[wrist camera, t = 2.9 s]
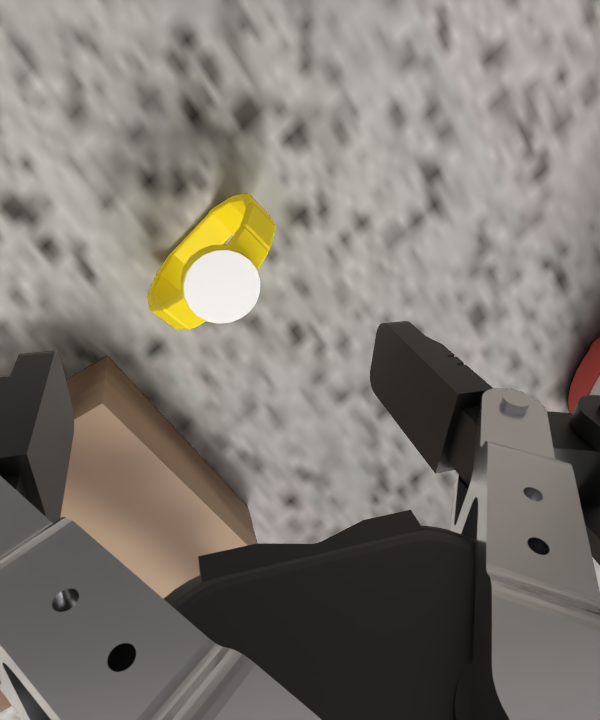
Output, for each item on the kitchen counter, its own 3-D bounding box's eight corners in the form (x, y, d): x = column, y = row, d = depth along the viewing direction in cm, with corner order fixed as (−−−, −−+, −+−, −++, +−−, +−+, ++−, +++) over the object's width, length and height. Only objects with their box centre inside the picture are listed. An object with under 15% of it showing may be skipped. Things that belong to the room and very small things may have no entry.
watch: (221, 171, 20) (258, 190, 15) (265, 217, 22) (311, 248, 17) (130, 272, 21) (136, 323, 16) (178, 310, 22) (198, 367, 17)
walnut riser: (107, 355, 22) (102, 403, 19) (247, 507, 30) (261, 558, 27) (-212, 544, 22) (-271, 624, 19) (12, 645, 31) (-3, 713, 27)
